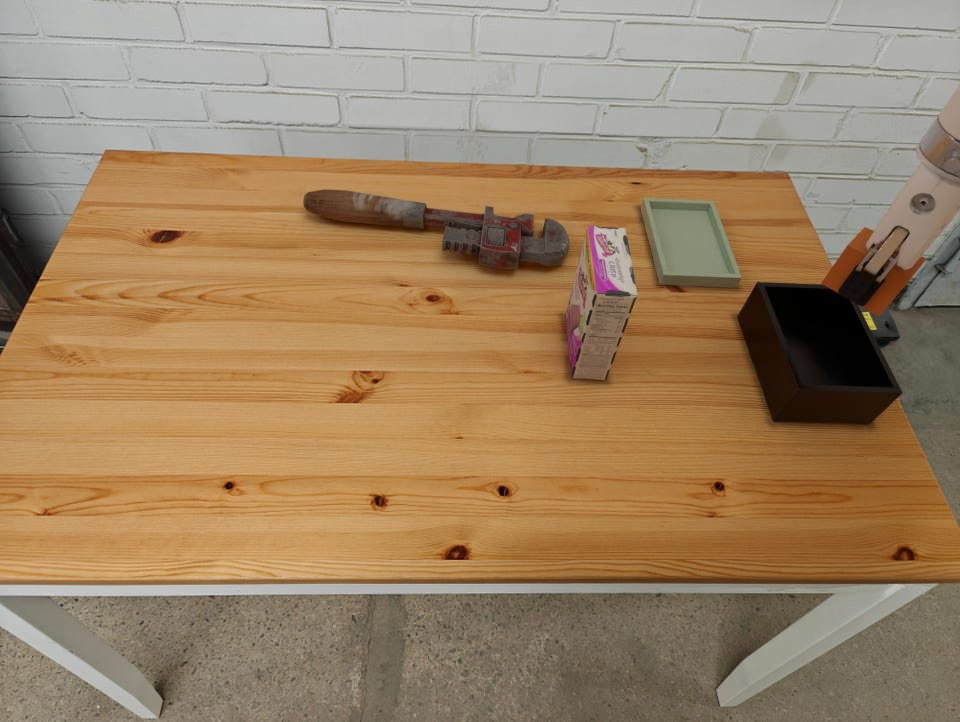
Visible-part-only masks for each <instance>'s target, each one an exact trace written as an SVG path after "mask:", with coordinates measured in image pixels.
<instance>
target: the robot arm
mask: <svg viewBox="0 0 960 722" xmlns="http://www.w3.org/2000/svg"><path fill="white" fill-rule="evenodd" d="M915 153H916V156H917V159H918V160H919V161H920V163H919V164H918V166H917V167H916V169H915V170H914V171H913V173H912V174H911V176H910V177H909V178H908V180H907V181H906V183H905V184H904V186H903V187H902V188H901V190H900V191H899V193H898V194H897V196H896V197H895V198H894V200H893V201H892V203H891V204H890V205H889V207H888V209H887V210H886V212H885V213H884V214H883V216H882V218H881V219H880V221H879V223H878V224H877V225H876V227H875V229H874V230H873V231H874V232H873V233H872V235H871V237H870V238H869V240H868V241H867V243H866V248H867V250H869V249H871V250H870V251H869V253H868V254H867V255H866V256H865V258H864V259H863V260H862V262H861V263H860V264H859V265H856V266H855V268H854V269H853V270H852V272H851V273H850V275H849V276H848V277H847V279H846V280H845V281H844V283H843V284H842V285H841V287H840V288H839V289H838V293H839V294H841V295H842V296H844V297H846V298H848V299H849V300H851V301H853V302H854V303H856V304H858V306H859V305H860V306H859V307H861V306H865V305H866V304H867V302H868V301H869V300H870V299H871V297H872V296H873V295H874V294H875V292H876V291H877V290H878V289H879V288H880V286H881V285H882V284H883V283H884V281H885V280H884V279H883V278H884V277H885V276H886V275H887V274H888V272H889V271H890V270H891V269H892V267H893V266H894V265H895V264H896V263H897V266H899V267H901V268H902V269H903V270H907V269H910V268H912V267H913V265H914V264H915V263H916V262H917V261H918V260H919V258H920V257H921V256H922V257H923V255H924V254H925V253H926V251H928V249H929V248H930V247H931V245H933V244H934V242H935V241H936V240H937V239H938V237H939V236H940V235H941V234H942V232H944V231H945V229H946V228H947V227H948V226H949V224H950V223H951V222H952V221H953V219H955V217H956V216H957V215H958V214H959V213H960V84H958V86H957V87H956V89H955V90H954V92H953V93H952V95H951V96H950V97H949V99H948V100H947V102H946V103H945V104H944V106H943V108H942V109H941V111H939V114H937V116H936V118H935V119H934V120H933V121H932V123H931V125H930V126H929V128H928V129H927V131H925V133H924V134H923V136H922V138H921V139H920V140H919V142H918V143H917V145H916V147H915ZM881 243H882V244H883V245H882V247H880V246H879V245H880V244H881ZM894 251H897V252H899V254H898V255H895V254H894V253H893V252H894ZM874 254H875V255H874ZM873 255H874V257H873ZM872 257H873V258H872ZM871 258H872V259H871ZM870 259H871V260H870ZM886 261H888V262H890V263H889V264H888V265H887V266H886V268H885V269H884V267H882V266H883V265H884V264H885V262H886Z"/></svg>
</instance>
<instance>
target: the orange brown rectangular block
mask: <svg viewBox="0 0 960 722" xmlns="http://www.w3.org/2000/svg"><path fill="white" fill-rule="evenodd" d="M873 232H874V230H872V229H871V228H868V227H867V226H864V227H863V228H862V229H861V230H860V231H859V232H858V233H857V234H856V236H854V238H853V239H852V240H850V241H849V243H848V244H847V245H846V247H845V248H844V249H843V250H842V253H841V254H840V255H839V257H838V258H837V260H836V261H835V262H834V264H833V265H832V266H831V268H830V269H829V271H828V272H827V274H826V275H825V277H824V278H823V280H822V281H821V282H820V284H823V285H825V286H827V287H828V288H830V289H832V290H833V291H835V292H837V293H838V289H839V288H840V287H841V285H842V284H843V283H844V281H845V280H846V279H847V277H848V276H849V275H850V273H851V272H852V270H853V269H854V268H855V266H856V265H859V264H860V263H861V262H862V260H863V259H864V258H865V256H866V255H867V254H868V253H869V251H870V250H871V249H869V250H867V248H866V243H867V241H868V240H869V238H870V237H871V235H872V233H873ZM882 245H883V244H882V243H881V244H880V245H879V246H880V247H882ZM893 253H894V254H895V255H898V254H899V252H897V251H894V252H893ZM874 255H875V254H874ZM874 255H873V257H874ZM873 257H872V258H873ZM872 258H871V259H872ZM871 259H870V260H871ZM926 261H927V258H926V257H925V256H923V255H922V256H921V257H920V258H919V260H918V261H917V262H916V263H915V264H914V265H913V267H912V268H910V269H907V270H903V269H902V268H901V267H899V266H897V263H896V264H895V265H894V266H893V267H892V269H891V270H890V271H889V272H888V274H887V275H886V276H885V277H884V278H883V279H884V280H885V281H884V283H883V284H882V285H881V286H880V288H879V289H878V290H877V291H876V292H875V294H874V295H873V296H872V297H871V299H870V300H869V301H868V302H867V304H866V305H865V306H860V305H858V306H859V307H861V308H863V309H865V310H866V311H868V312H870V313H872V314H873V315H875V316H876V317H880V316H881V315H882V314H883V313H884V311H885V310H886V309H887V308H888V306H889V305H890V304H891V303H892V302H893V301H894V299H896V297H897V296H898V295H899V294H900V293H901V291H903V289H904V288H905V287H906V285H907V284H908V283H909V282H910V281H911V280H912V278H913V277H914V276H915V275H916V273H917V272H918V271H919V270H920V268H921V267H922V265H923V264H924V263H925V262H926ZM889 263H890V262H888V261H886V262H885V264H884V265H883V266H882V267H884V269H885V268H886V266H887V265H888V264H889ZM840 295H841V294H840ZM847 299H848V298H847ZM852 302H853V301H852Z"/></svg>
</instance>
